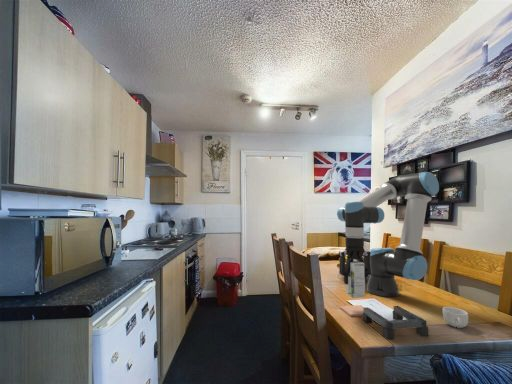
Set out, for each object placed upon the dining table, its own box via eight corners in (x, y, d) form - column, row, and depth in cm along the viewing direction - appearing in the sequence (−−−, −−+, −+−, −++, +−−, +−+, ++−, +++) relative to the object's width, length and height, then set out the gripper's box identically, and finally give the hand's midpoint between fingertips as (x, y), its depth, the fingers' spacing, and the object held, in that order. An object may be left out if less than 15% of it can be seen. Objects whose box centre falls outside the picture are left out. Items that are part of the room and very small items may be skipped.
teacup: (441, 319, 101) (440, 305, 101) (465, 323, 98) (464, 308, 98) (446, 329, 92) (445, 314, 93) (473, 334, 89) (472, 318, 89)
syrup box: (346, 293, 111) (345, 260, 112) (358, 293, 112) (358, 259, 113) (352, 298, 105) (351, 262, 106) (365, 297, 106) (364, 262, 107)
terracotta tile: (360, 306, 113) (360, 305, 113) (373, 315, 104) (373, 313, 104) (339, 308, 112) (339, 306, 112) (350, 316, 103) (350, 314, 103)
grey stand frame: (398, 318, 101) (398, 305, 102) (428, 336, 87) (427, 321, 88) (362, 320, 99) (362, 307, 99) (387, 339, 85) (386, 323, 85)
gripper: (369, 236, 115) (370, 288, 114) (330, 236, 113) (330, 289, 111) (379, 237, 108) (381, 293, 106) (338, 238, 105) (338, 295, 103)
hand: (355, 291), depth 109 cm, fingers closed on syrup box, 6 cm apart
